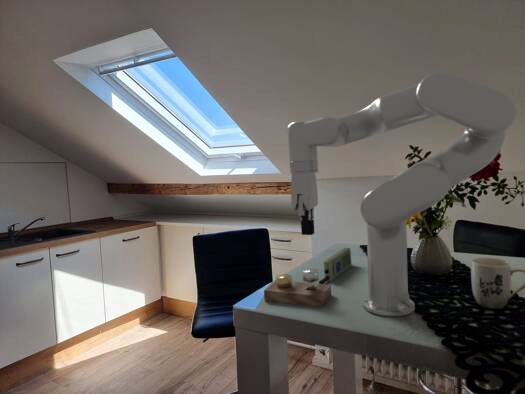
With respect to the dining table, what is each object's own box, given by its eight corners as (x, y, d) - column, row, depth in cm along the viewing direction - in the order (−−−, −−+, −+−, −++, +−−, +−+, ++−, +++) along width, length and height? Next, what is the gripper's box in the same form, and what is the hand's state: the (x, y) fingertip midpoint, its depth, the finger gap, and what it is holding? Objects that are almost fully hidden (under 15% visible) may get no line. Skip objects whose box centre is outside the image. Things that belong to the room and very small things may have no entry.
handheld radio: (353, 265, 133) (326, 287, 112) (344, 265, 135) (316, 286, 114) (351, 247, 133) (324, 266, 112) (342, 247, 134) (314, 265, 113)
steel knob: (321, 291, 101) (320, 271, 101) (306, 293, 100) (305, 273, 100) (315, 286, 106) (314, 267, 105) (301, 288, 105) (300, 269, 104)
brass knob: (294, 296, 105) (293, 277, 104) (279, 298, 104) (278, 280, 103) (289, 291, 109) (288, 273, 109) (275, 293, 108) (274, 275, 108)
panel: (331, 294, 105) (330, 284, 105) (323, 307, 97) (322, 296, 97) (276, 289, 112) (275, 280, 112) (264, 300, 104) (263, 290, 104)
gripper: (299, 167, 108) (303, 228, 110) (281, 169, 94) (286, 240, 96) (324, 165, 105) (328, 229, 107) (309, 168, 91) (313, 240, 93)
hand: (308, 234), depth 101 cm, fingers closed
